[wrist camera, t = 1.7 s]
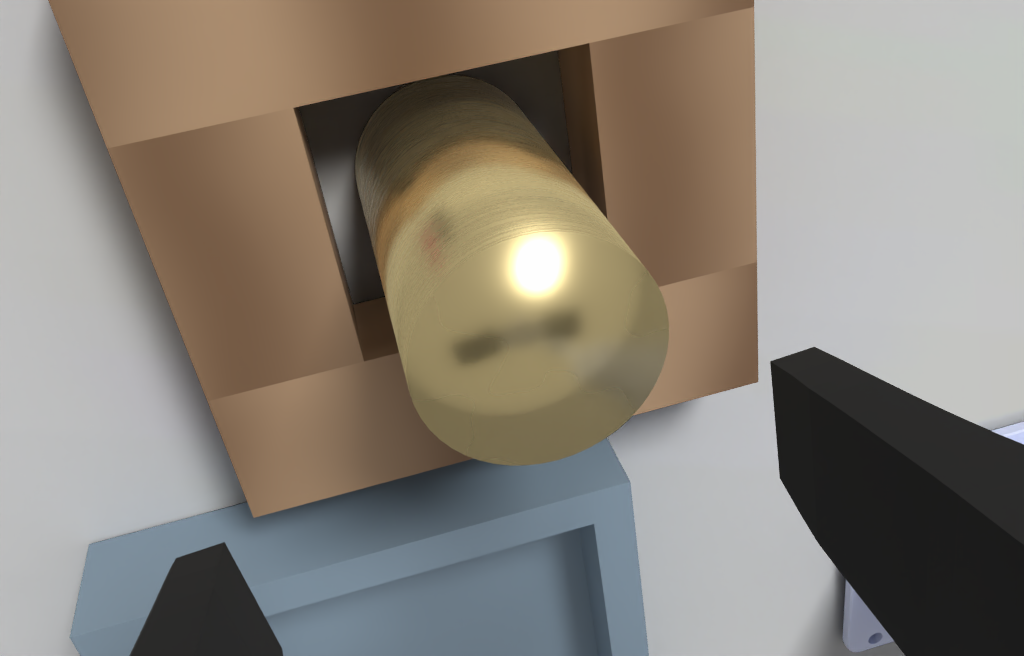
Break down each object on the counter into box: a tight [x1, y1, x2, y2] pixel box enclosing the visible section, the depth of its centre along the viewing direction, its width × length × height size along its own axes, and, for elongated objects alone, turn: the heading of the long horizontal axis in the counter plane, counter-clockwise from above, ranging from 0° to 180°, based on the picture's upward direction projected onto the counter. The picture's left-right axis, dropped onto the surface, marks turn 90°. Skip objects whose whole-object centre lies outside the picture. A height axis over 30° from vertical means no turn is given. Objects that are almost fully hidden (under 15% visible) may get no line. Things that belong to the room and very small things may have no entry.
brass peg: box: [355, 75, 669, 466], centre depth 17 cm, size 4×4×8 cm
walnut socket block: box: [48, 0, 758, 518], centre depth 20 cm, size 12×12×2 cm
